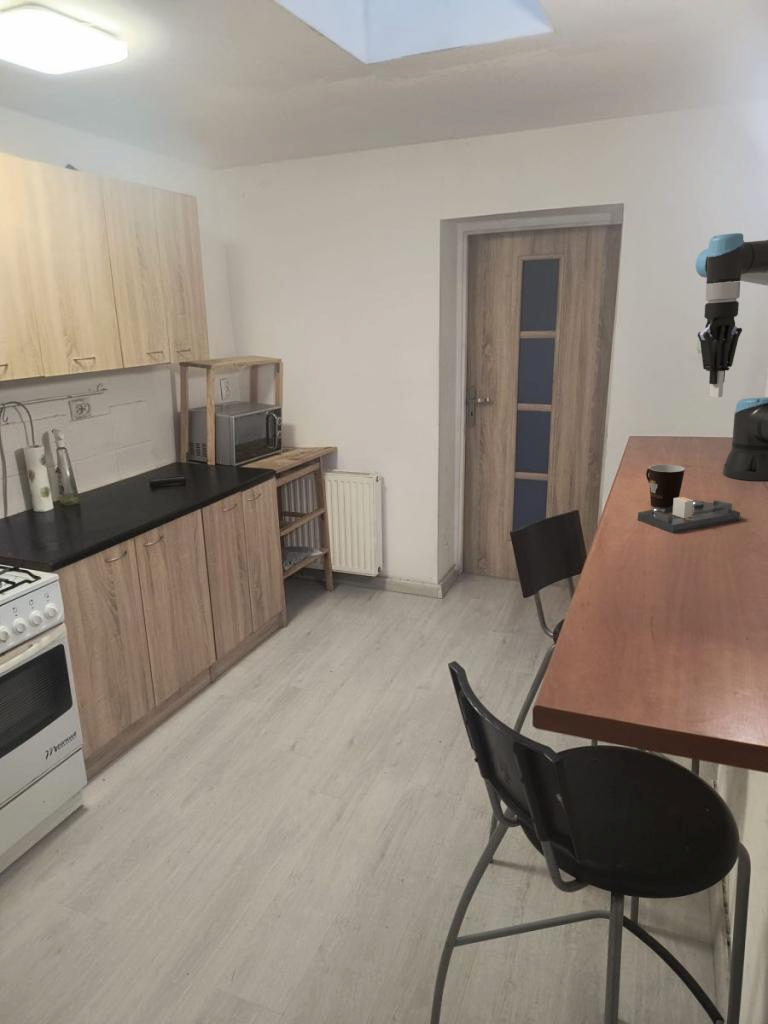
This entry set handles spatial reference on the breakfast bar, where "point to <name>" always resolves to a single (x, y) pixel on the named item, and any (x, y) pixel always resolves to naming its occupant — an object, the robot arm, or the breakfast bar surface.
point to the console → (701, 517)
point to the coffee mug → (664, 484)
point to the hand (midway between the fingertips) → (715, 396)
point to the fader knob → (682, 507)
